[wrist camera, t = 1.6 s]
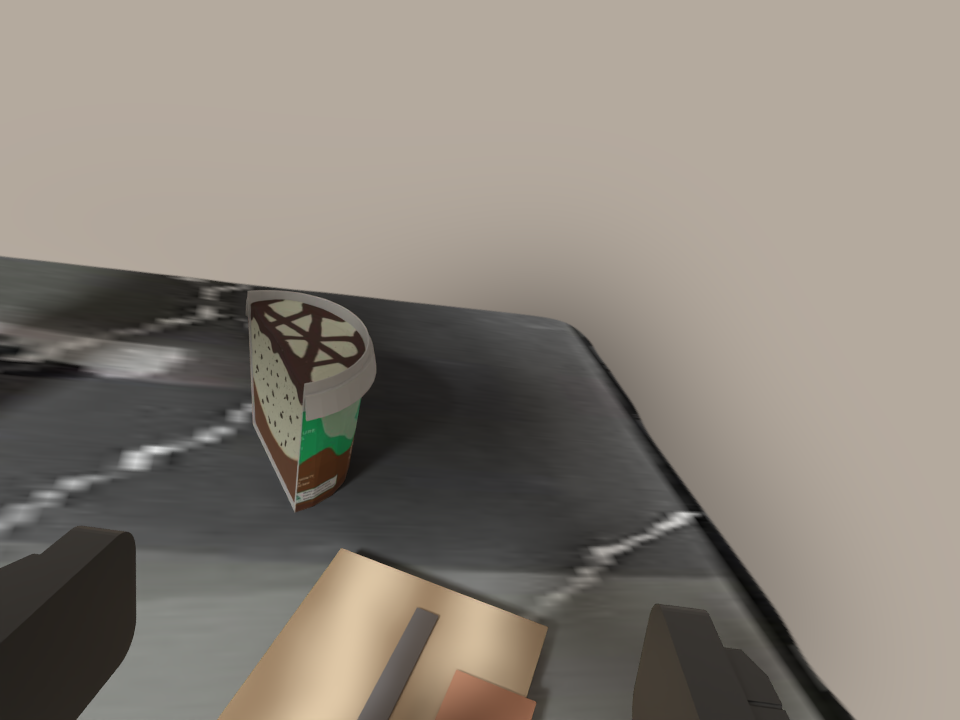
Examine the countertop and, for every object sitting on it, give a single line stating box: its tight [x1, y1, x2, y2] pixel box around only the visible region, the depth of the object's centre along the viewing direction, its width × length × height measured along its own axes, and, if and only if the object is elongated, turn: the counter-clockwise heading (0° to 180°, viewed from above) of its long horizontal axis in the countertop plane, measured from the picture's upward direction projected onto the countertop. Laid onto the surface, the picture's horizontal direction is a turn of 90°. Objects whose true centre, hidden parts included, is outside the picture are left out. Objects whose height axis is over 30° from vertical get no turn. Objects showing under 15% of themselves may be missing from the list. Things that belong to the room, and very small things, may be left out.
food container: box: [246, 290, 376, 512], centre depth 45 cm, size 12×6×10 cm, turn 30°
